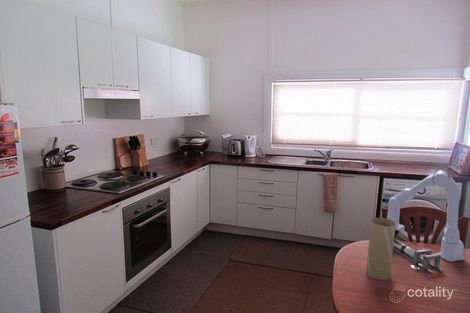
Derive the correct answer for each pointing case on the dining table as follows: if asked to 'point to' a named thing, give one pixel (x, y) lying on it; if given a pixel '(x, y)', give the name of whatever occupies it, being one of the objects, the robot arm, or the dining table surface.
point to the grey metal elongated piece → (404, 249)
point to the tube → (380, 248)
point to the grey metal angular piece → (423, 259)
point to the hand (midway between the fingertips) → (390, 242)
